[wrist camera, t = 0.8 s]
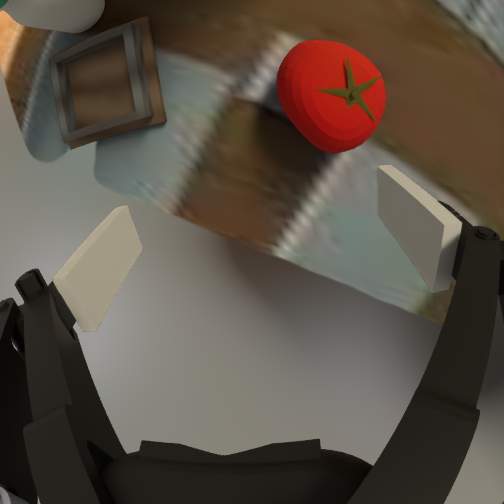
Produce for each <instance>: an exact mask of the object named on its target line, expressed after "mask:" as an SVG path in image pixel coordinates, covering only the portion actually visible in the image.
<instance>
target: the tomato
mask: <svg viewBox="0 0 504 504" xmlns="http://www.w3.org/2000/svg"><path fill="white" fill-rule="evenodd" d="M382 75H383V74H382ZM382 75H381V74H380V72H379V71H378V70H377V68H376V67H375V66H374V64H373V63H372V62H371V61H369V60H368V59H367V58H366V57H365V56H364V55H362V54H361V53H359V52H357V51H356V50H354V49H352V48H350V47H348V46H346V45H344V44H341V43H337V42H333V41H323V40H308V41H305V42H301V43H299V44H297V45H296V46H295V47H293V48H292V49H291V50H290V52H289V53H288V54H287V55H286V57H285V58H284V59H283V61H282V63H281V65H280V67H279V71H278V74H277V91H278V97H279V100H280V103H281V105H282V108H283V110H284V112H285V113H286V115H287V116H288V118H289V119H290V121H291V122H292V123H293V124H294V125H295V127H296V128H297V129H298V130H299V131H300V132H301V134H302V135H303V136H304V137H305V138H306V139H307V140H308V141H309V142H310V143H311V144H313V145H314V146H316V147H317V148H319V149H320V150H323V151H326V152H329V153H341V152H345V151H348V150H351V149H354V148H356V147H358V146H359V145H361V144H363V143H364V142H365V141H366V140H367V139H368V138H369V137H370V136H371V135H372V133H373V132H374V131H375V129H376V128H377V126H378V124H379V122H380V120H381V118H382V115H383V112H384V109H385V103H386V90H385V85H384V82H383V79H382Z"/></svg>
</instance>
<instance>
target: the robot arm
mask: <svg viewBox="0 0 504 504" xmlns="http://www.w3.org/2000/svg"><path fill="white" fill-rule="evenodd" d="M377 179H378V217H379V218H380V219H381V220H382V222H383V223H384V224H385V226H386V227H387V228H388V230H389V231H390V232H391V234H392V235H393V236H394V238H395V239H396V240H397V242H398V243H399V245H400V246H401V247H402V249H403V250H404V252H405V253H406V254H407V256H408V257H409V259H410V260H411V262H412V263H413V265H414V266H415V267H416V269H417V270H418V272H419V273H420V275H421V276H422V278H423V279H424V281H425V282H426V284H427V286H428V287H429V289H430V290H431V292H432V293H434V292H439V291H443V290H448V289H449V286H450V282H451V278H452V276H453V277H454V279H455V280H456V281H457V282H456V285H455V289H454V292H453V296H452V299H451V302H450V306H449V309H448V312H447V315H446V318H445V321H444V324H443V327H442V330H441V332H440V335H439V338H438V341H437V343H436V346H435V348H434V351H433V353H432V356H431V359H430V361H429V363H428V366H427V368H426V370H425V373H424V375H423V377H422V379H421V382H420V384H419V386H418V388H417V389H416V391H415V394H414V395H413V397H412V400H411V402H410V404H409V406H408V407H407V410H406V411H405V413H404V415H403V417H402V419H401V421H400V423H399V424H398V426H397V428H396V430H395V432H394V433H393V435H392V437H391V438H390V440H389V442H388V444H387V445H386V447H385V449H384V450H383V452H382V453H381V455H380V457H379V458H378V460H377V461H376V463H375V464H374V466H372V465H371V464H369V463H367V462H365V461H364V460H362V459H360V458H357V457H355V456H353V455H349V454H346V453H343V452H339V451H333V450H326V449H321V446H320V439H313V440H305V441H296V442H285V443H272V444H269V445H265V446H262V447H258V448H255V449H251V450H247V451H243V452H239V453H235V454H230V455H217V454H213V453H210V452H206V451H203V450H199V449H196V448H192V447H189V446H186V445H182V444H175V443H164V442H153V441H144V440H143V441H141V446H140V450H139V451H137V452H133V453H129V454H127V453H126V452H125V451H124V449H123V447H122V445H121V443H120V441H119V439H118V437H117V435H116V433H115V431H114V429H113V427H112V425H111V422H110V420H109V418H108V416H107V414H106V411H105V409H104V407H103V404H102V402H101V400H100V397H99V395H98V393H97V390H96V387H95V385H94V382H93V380H92V377H91V374H90V372H89V369H88V366H87V363H86V360H85V358H84V355H83V352H82V348H81V345H80V342H79V339H78V336H77V333H76V332H75V330H74V329H73V326H74V324H75V322H77V323H78V324H79V326H80V328H81V329H82V331H83V332H90V331H91V332H92V331H97V329H98V327H99V325H100V323H101V321H102V319H103V317H104V315H105V314H106V312H107V310H108V308H109V306H110V305H111V303H112V301H113V299H114V297H115V295H116V294H117V292H118V290H119V288H120V287H121V285H122V283H123V281H124V280H125V278H126V276H127V274H128V273H129V271H130V269H131V267H132V266H133V264H134V263H135V261H136V259H137V258H138V256H139V254H140V253H141V251H142V249H143V248H142V245H141V243H140V240H139V237H138V235H137V232H136V229H135V226H134V224H133V221H132V218H131V215H130V213H129V209H128V207H127V205H126V206H121V207H117V208H115V209H114V210H113V211H112V212H111V213H110V214H109V215H108V216H107V217H106V218H105V219H104V220H103V221H102V222H101V223H100V224H99V225H98V227H97V228H96V229H95V230H94V231H93V232H92V233H91V234H90V236H88V237H87V238H86V240H85V241H84V242H83V243H82V244H81V245H80V246H79V247H78V249H77V250H76V251H75V252H74V253H73V254H72V255H71V257H70V258H69V259H68V260H67V261H66V262H65V264H64V265H63V266H62V267H61V269H60V270H59V271H58V272H57V273H56V275H55V276H54V277H53V278H52V280H53V281H52V282H51V283H50V284H49V286H47V284H46V282H45V280H44V278H43V276H42V275H41V273H40V271H39V269H32V270H30V271H28V272H26V273H25V274H23V275H22V276H21V277H20V278H19V279H18V280H17V281H16V283H15V286H16V288H17V290H18V292H19V293H20V295H21V297H22V298H23V300H24V304H23V305H20V306H17V304H16V302H15V301H14V299H13V298H8V299H6V300H2V301H1V302H0V504H37V500H38V497H39V500H40V503H41V504H444V502H445V500H446V498H447V496H448V494H449V492H450V490H451V488H452V486H453V484H454V482H455V480H456V478H457V475H458V473H459V471H460V469H461V466H462V464H463V461H464V459H465V457H466V454H467V451H468V449H469V447H470V444H471V441H472V439H473V436H474V433H475V430H476V427H477V424H478V420H479V416H480V410H478V409H476V405H477V401H478V398H479V394H480V390H481V387H482V383H483V379H484V375H485V371H486V367H487V362H488V358H489V353H490V347H491V342H492V337H493V330H494V323H495V317H496V309H497V300H498V295H499V300H500V305H501V310H502V315H503V321H504V241H500V237H499V235H498V234H497V233H496V232H495V231H493V230H492V229H489V228H486V227H482V226H474V227H473V226H472V225H471V224H470V223H469V222H468V221H467V220H465V219H464V218H463V217H462V216H460V214H459V213H457V212H455V210H454V209H453V208H452V207H450V206H449V205H447V204H445V203H443V202H441V201H436V200H435V199H434V198H433V197H432V196H430V195H429V194H428V193H427V192H426V191H424V190H423V189H422V188H421V187H419V186H418V185H417V184H415V183H414V182H413V181H412V180H410V179H409V178H408V177H406V176H405V175H404V174H402V173H401V172H400V171H398V170H397V169H396V168H394V167H393V166H391V165H383V166H377ZM12 343H13V344H14V345H15V347H16V348H17V351H16V349H15V348H14V346H13V344H12ZM502 504H504V502H503V503H502Z"/></svg>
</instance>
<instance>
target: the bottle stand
mask: <svg viewBox="0 0 504 504" xmlns="http://www.w3.org/2000/svg"><path fill="white" fill-rule="evenodd" d="M49 65H50V72H51V79H52V86H53V92H54V97H55V103H56V108H57V113H58V118H59V123H60V127H61V132H62V136H63V140H64V144H65V143H67V142H69V145H70V149H74V148H77V147H80V146H83V145H86V144H89V143H91V142H95V141H98V140H101V139H104V138H107V137H111V136H114V135H117V134H121V133H124V132H128V131H131V130H135V129H139V128H142V127H146V126H150V125H154V124H158V123H162V122H166V121H167V119H166V114H165V109H164V104H163V98H162V93H161V87H160V81H159V76H158V70H157V64H156V58H155V52H154V45H153V39H152V32H151V25H150V18H149V17H148V16H145V17H142V18H139V19H136V20H133V21H130V22H127V23H125V24H122V25H119V26H117V27H114V28H112V29H109V30H107V31H104V32H102V33H99V34H97V35H95V36H92V37H90V38H88V39H86V40H84V41H81V42H79V43H77V44H75V45H73V46H71V47H69V48H67V49H65V50H63V51H61V52H59V53H57V54H56V55H54V56H53V57H52V58H51V59H49Z"/></svg>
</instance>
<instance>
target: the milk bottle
mask: <svg viewBox="0 0 504 504" xmlns="http://www.w3.org/2000/svg"><path fill="white" fill-rule="evenodd" d="M104 7H105V0H0V11H1V10H4V11H5V12H7V13H8V14H9V15H10V16H11V17H12V18H13V19H14V20H15V21H16V22H17V23H19V24H21V25H25V26H29V27H34V28H41V29H48V30H55V31H61V32H68V33H81V32H84V31H86V30H88V29H89V28H91V27H92V26H93V25H94V24H95V23H96V22H97V21H98V20H99V19H100V17H101V15H102V13H103V11H104Z"/></svg>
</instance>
